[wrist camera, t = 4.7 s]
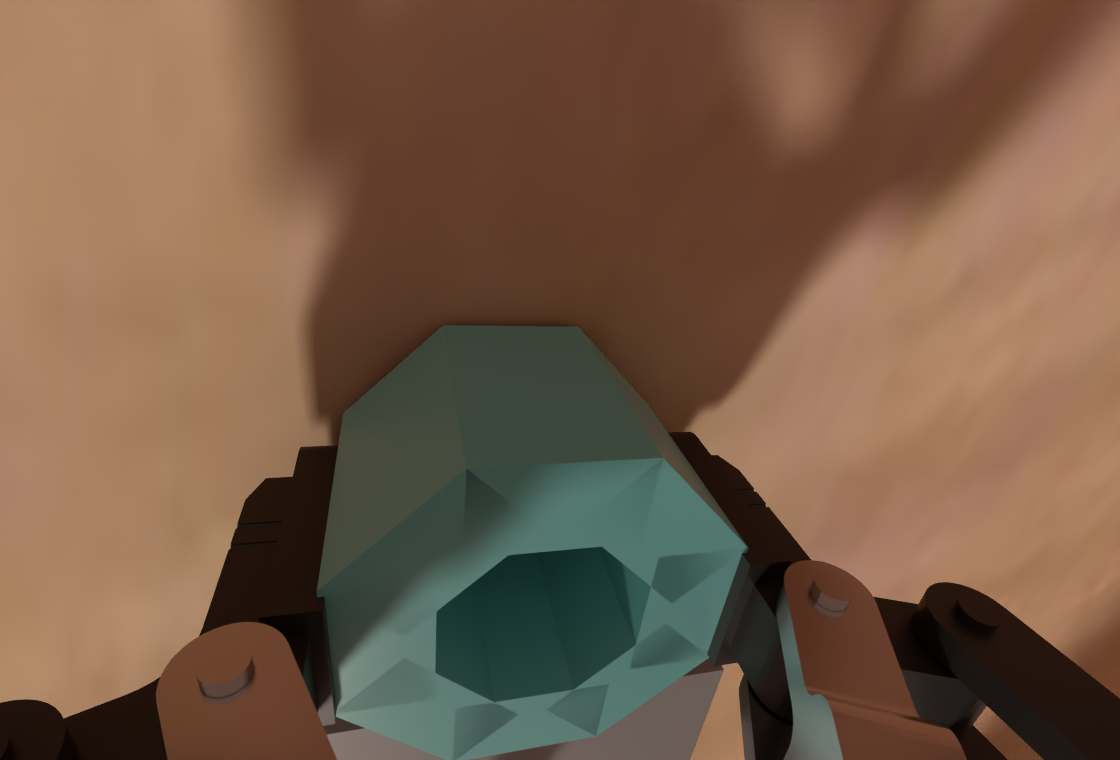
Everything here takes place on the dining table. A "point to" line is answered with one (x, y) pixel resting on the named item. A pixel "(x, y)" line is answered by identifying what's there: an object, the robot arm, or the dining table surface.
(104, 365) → the dining table surface
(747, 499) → the robot arm
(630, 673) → the hollow teal octagon tube
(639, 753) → the gear board
